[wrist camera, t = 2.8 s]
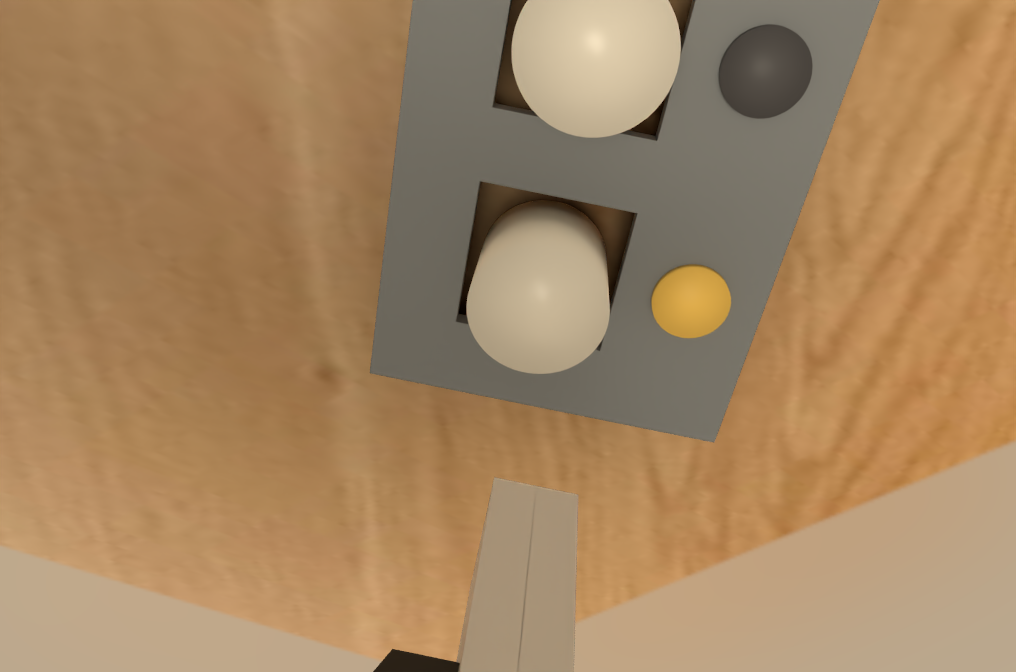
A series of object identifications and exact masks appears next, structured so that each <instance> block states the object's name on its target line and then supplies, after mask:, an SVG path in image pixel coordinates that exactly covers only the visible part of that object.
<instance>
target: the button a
mask: <svg viewBox="0 0 1016 672" xmlns="http://www.w3.org/2000/svg"><path fill="white" fill-rule="evenodd" d="M466 308H467V318H468V323H469V326H470V329H471V332H472V334H473V336H474V338H475V339H476V341H477V342H478V344H479V345H480V346H481V348H482V349H483V350H484V351H485V352H486V353H487V354H488V355H489V356H490V357H492V358H493V359H494V360H496V361H497V362H499V363H501V364H502V365H504V366H506V367H509V368H511V369H514V370H517V371H521V372H525V373H532V374H548V373H554V372H559V371H563V370H566V369H569V368H571V367H573V366H575V365H577V364H579V363H580V362H582V361H583V360H585V359H586V358H587V357H588V356H589V355H591V354H592V352H593V351H594V350H595V349H596V348H597V347H598V345H599V344H600V342H601V341H602V339H603V337H604V335H605V333H606V330H607V327H608V323H609V316H610V304H609V288H608V271H607V255H606V248H605V244H604V241H603V238H602V236H601V234H600V232H599V230H598V228H597V227H596V226H595V224H594V223H593V222H592V221H591V220H590V219H589V218H588V217H587V216H586V215H585V214H583V213H582V212H581V211H579V210H578V209H576V208H574V207H572V206H570V205H567V204H565V203H561V202H557V201H550V200H537V201H530V202H526V203H522V204H520V205H517V206H515V207H513V208H511V209H510V210H508V211H507V212H505V213H504V214H502V215H501V216H500V217H499V218H498V219H497V220H496V221H495V223H494V224H493V225H492V226H491V228H490V230H489V232H488V233H487V236H486V238H485V241H484V244H483V247H482V250H481V254H480V257H479V260H478V263H477V266H476V270H475V273H474V276H473V279H472V283H471V286H470V289H469V293H468V297H467V305H466Z"/></svg>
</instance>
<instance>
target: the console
mask: <svg viewBox="0 0 1016 672" xmlns="http://www.w3.org/2000/svg"><path fill="white" fill-rule="evenodd" d="M879 1H880V0H692V4H691V7H690V11H689V15H688V18H687V22H686V26H685V29H684V33H683V37H682V41H681V52H680V61H679V66H678V71H677V74H676V77H675V80H674V82H673V84H672V86H671V88H670V90H669V92H668V94H667V96H666V100H665V103H664V107H663V111H662V114H661V118H660V122H659V126H658V129H657V133H656V136H654V135H649V134H644V133H639V132H634V131H629V130H627V131H624V132H622V133H619V134H616V135H612V136H607V137H599V138H586V137H579V136H574V135H571V134H567V133H564V132H562V131H560V130H557V129H556V128H554V127H552V126H550V125H549V124H547V123H546V122H545V121H543V120H542V119H541V118H540V117H539V116H538V115H537V114H536V113H535V112H534V111H531V110H526V109H522V108H517V107H512V106H507V105H502V104H497V103H494V102H495V96H496V90H497V85H498V79H499V73H500V67H501V61H502V55H503V49H504V44H505V38H506V32H507V26H508V20H509V14H510V8H511V2H512V0H413V3H412V12H411V21H410V29H409V38H408V47H407V55H406V64H405V72H404V81H403V90H402V98H401V107H400V116H399V124H398V133H397V142H396V150H395V159H394V168H393V176H392V185H391V194H390V202H389V211H388V220H387V228H386V237H385V245H384V254H383V263H382V271H381V280H380V289H379V297H378V306H377V315H376V323H375V332H374V341H373V349H372V358H371V367H370V373H371V374H376V375H381V376H386V377H391V378H396V379H401V380H406V381H411V382H416V383H421V384H426V385H431V386H436V387H441V388H446V389H451V390H456V391H461V392H466V393H471V394H476V395H481V396H486V397H491V398H496V399H501V400H505V401H510V402H515V403H520V404H525V405H530V406H535V407H540V408H545V409H550V410H555V411H560V412H565V413H570V414H575V415H580V416H585V417H590V418H595V419H600V420H605V421H610V422H615V423H620V424H625V425H630V426H635V427H640V428H645V429H650V430H655V431H659V432H664V433H669V434H674V435H679V436H684V437H689V438H694V439H699V440H704V441H709V442H715V439H716V436H717V434H718V431H719V428H720V426H721V423H722V420H723V418H724V415H725V412H726V410H727V407H728V404H729V402H730V399H731V396H732V394H733V391H734V388H735V386H736V383H737V380H738V377H739V375H740V372H741V369H742V367H743V364H744V361H745V359H746V356H747V353H748V351H749V348H750V345H751V343H752V340H753V337H754V335H755V332H756V329H757V327H758V324H759V321H760V319H761V316H762V313H763V311H764V308H765V305H766V303H767V300H768V297H769V295H770V292H771V289H772V287H773V284H774V281H775V279H776V276H777V273H778V271H779V268H780V265H781V263H782V260H783V257H784V255H785V252H786V249H787V247H788V244H789V241H790V239H791V236H792V233H793V231H794V228H795V225H796V223H797V220H798V217H799V215H800V212H801V209H802V207H803V204H804V201H805V198H806V196H807V193H808V190H809V188H810V185H811V182H812V180H813V177H814V174H815V172H816V169H817V166H818V164H819V161H820V158H821V156H822V153H823V150H824V148H825V145H826V142H827V140H828V137H829V134H830V132H831V129H832V126H833V124H834V121H835V118H836V116H837V113H838V110H839V108H840V105H841V102H842V100H843V97H844V94H845V92H846V89H847V86H848V84H849V81H850V78H851V76H852V73H853V70H854V68H855V65H856V62H857V60H858V57H859V54H860V52H861V49H862V46H863V44H864V41H865V38H866V36H867V33H868V30H869V28H870V25H871V22H872V19H873V17H874V14H875V11H876V9H877V6H878V3H879ZM481 181H482V182H486V183H491V184H496V185H501V186H506V187H511V188H516V189H521V190H526V191H531V192H536V193H541V194H545V195H550V196H555V197H560V198H565V199H570V200H575V201H580V202H585V203H590V204H595V205H599V206H604V207H609V208H614V209H619V210H624V211H629V212H634V213H635V214H634V218H633V222H632V225H631V229H630V233H629V236H628V240H627V244H626V248H625V251H624V255H623V259H622V262H621V266H620V270H619V273H618V277H617V281H616V285H615V288H614V292H613V296H612V299H611V303H610V316H609V323H608V327H607V330H606V333H605V335H604V337H603V339H602V341H601V342H600V344H599V345H598V347H597V348H596V349H595V350H594V351H593V352H592V354H591V355H589V356H588V357H587V358H586V359H585V360H583V361H582V362H580V363H579V364H577V365H575V366H573V367H571V368H569V369H566V370H563V371H559V372H554V373H548V374H532V373H525V372H521V371H517V370H514V369H511V368H509V367H506V366H504V365H502V364H501V363H499V362H497V361H496V360H494V359H493V358H492V357H490V356H489V355H488V354H487V353H486V352H485V351H484V350H483V349H482V348H481V346H480V345H479V344H478V342H477V341H476V339H475V338H474V336H473V334H472V332H471V329H470V326H469V323H468V318H467V315H463V314H458V313H459V308H460V302H461V296H462V290H463V284H464V278H465V272H466V266H467V261H468V255H469V249H470V243H471V237H472V231H473V225H474V220H475V214H476V208H477V202H478V196H479V190H480V184H481Z"/></svg>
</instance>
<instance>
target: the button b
mask: <svg viewBox="0 0 1016 672" xmlns="http://www.w3.org/2000/svg"><path fill="white" fill-rule="evenodd" d="M680 52H681V41H680V32H679V26H678V22H677V19H676V16H675V13H674V11H673V9H672V7H671V4H670V2H669V1H668V0H528V1H527V2H526V3H525V5H524V7H523V9H522V11H521V13H520V15H519V18H518V20H517V23H516V26H515V30H514V34H513V40H512V66H513V72H514V76H515V79H516V83H517V85H518V87H519V90H520V92H521V94H522V96H523V97H524V99H525V101H526V102H527V104H528V105H529V106H530V108H531V109H532V110H533V111H534V112H535V113H536V114H537V115H538V116H539V117H540V118H541V119H542V120H543V121H545V122H546V123H547V124H549V125H550V126H552V127H554V128H556V129H557V130H560V131H562V132H564V133H567V134H571V135H574V136H579V137H586V138H599V137H607V136H612V135H616V134H619V133H622V132H624V131H627V130H629V129H631V128H633V127H634V126H636V125H638V124H639V123H641V122H642V121H644V120H645V119H646V118H648V117H649V116H650V115H651V114H652V113H653V112H654V111H655V110H656V109H657V108H658V106H659V105H660V104H661V103H662V102H663V100H664V99H665V97H666V95H667V94H668V92H669V90H670V88H671V86H672V84H673V82H674V80H675V77H676V74H677V71H678V66H679V61H680Z"/></svg>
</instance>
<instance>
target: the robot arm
mask: <svg viewBox="0 0 1016 672" xmlns="http://www.w3.org/2000/svg"><path fill="white" fill-rule="evenodd" d="M577 528H578V494H573V493H568V492H563V491H558V490H553V489H549V488H544V487H539V486H534V485H529V484H524V483H520V482H515V481H510V480H505V479H500V478H495V477H494V481H493V486H492V490H491V495H490V499H489V504H488V509H487V513H486V518H485V522H484V527H483V531H482V536H481V541H480V545H479V550H478V554H477V559H476V564H475V568H474V573H473V577H472V582H471V586H470V591H469V597H468V602H467V608H466V613H465V618H464V624H463V629H462V635H461V640H460V645H459V651H458V656H457V662H453V661H448V660H443V659H438V658H434V657H429V656H424V655H419V654H414V653H409V652H404V651H400V650H395V649H392V650H391V652H390V653H389V654H388V655H387V656H386V657H385V659H384V660H383V661H382V662H381V663H380V664H379V666H378V667H377V668H376V669H375V670H374V671H373V672H574V646H575V645H574V644H575V606H576V567H577Z"/></svg>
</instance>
